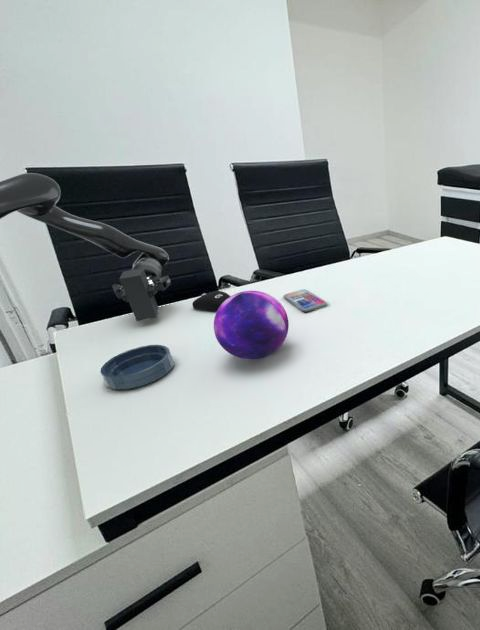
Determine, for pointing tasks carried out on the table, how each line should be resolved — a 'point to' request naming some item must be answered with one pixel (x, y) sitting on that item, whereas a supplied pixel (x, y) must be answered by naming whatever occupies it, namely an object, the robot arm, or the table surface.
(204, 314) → the table surface
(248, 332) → the decorative orb
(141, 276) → the dark grey upright block
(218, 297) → the computer mouse
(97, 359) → the table surface
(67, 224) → the robot arm
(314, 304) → the smartphone
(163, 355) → the bowl
